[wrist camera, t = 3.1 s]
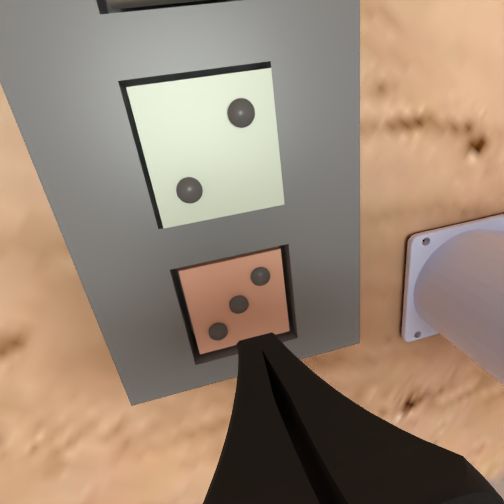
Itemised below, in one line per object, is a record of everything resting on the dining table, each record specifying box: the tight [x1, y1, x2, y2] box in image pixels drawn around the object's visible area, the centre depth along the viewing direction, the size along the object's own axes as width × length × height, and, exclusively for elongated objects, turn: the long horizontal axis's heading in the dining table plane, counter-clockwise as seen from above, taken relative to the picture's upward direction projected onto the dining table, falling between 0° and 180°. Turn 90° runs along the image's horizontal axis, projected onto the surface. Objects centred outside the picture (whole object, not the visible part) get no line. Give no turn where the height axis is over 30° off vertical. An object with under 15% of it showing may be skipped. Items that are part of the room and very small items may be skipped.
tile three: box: [178, 246, 290, 354], centre depth 16 cm, size 5×5×2 cm
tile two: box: [126, 68, 285, 228], centre depth 12 cm, size 5×5×2 cm
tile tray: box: [0, 0, 360, 406], centre depth 14 cm, size 12×22×4 cm, turn 8°
